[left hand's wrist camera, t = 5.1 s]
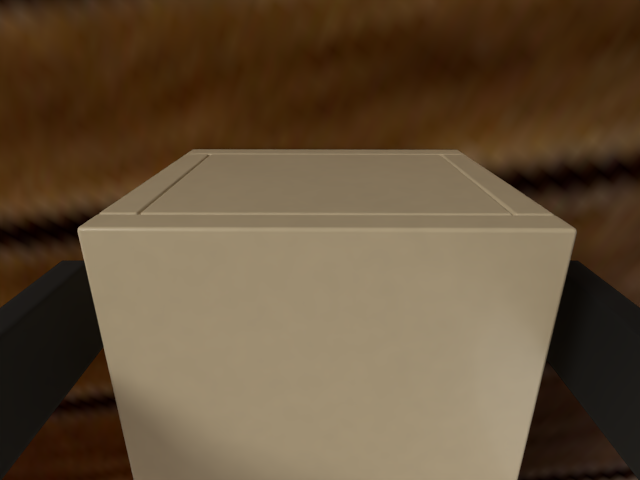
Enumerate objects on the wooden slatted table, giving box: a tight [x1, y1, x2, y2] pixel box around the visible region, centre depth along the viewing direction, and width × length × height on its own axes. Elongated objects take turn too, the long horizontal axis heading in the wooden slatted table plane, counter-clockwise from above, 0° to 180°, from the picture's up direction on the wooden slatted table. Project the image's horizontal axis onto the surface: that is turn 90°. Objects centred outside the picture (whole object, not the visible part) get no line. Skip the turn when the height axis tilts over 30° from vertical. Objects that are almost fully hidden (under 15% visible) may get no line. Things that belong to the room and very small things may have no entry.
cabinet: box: [78, 149, 577, 480], centre depth 16 cm, size 21×10×8 cm, turn 0°
